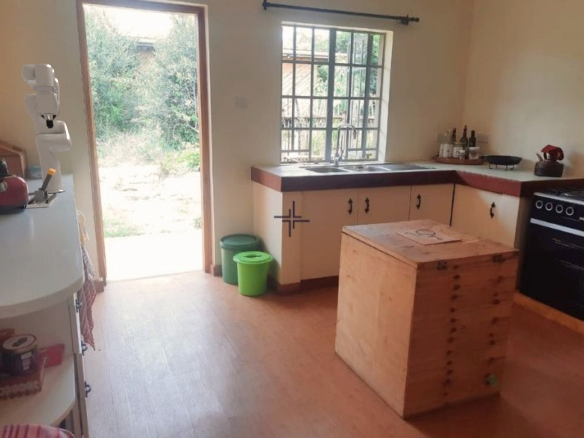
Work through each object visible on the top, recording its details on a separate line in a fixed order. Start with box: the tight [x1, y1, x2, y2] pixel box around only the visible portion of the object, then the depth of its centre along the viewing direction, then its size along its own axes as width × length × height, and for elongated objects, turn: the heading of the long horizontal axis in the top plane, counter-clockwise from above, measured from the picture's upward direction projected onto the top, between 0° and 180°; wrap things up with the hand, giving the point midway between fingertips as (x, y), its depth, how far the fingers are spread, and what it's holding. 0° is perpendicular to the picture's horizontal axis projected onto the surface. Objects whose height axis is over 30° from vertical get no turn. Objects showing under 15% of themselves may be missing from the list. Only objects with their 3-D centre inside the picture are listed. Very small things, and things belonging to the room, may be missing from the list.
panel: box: [25, 187, 59, 209], centre depth 219 cm, size 24×10×7 cm, turn 18°
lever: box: [40, 168, 56, 193], centre depth 219 cm, size 6×2×13 cm, turn 18°
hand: (50, 128), depth 227 cm, fingers closed
